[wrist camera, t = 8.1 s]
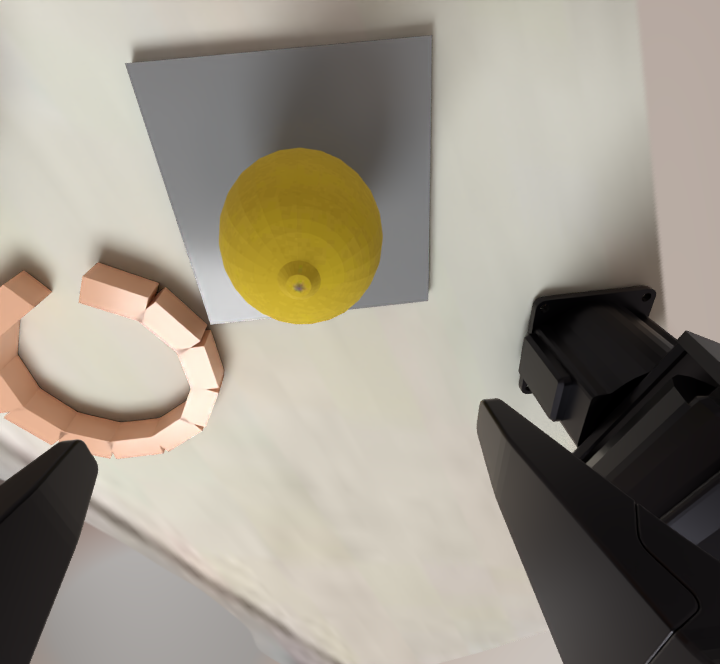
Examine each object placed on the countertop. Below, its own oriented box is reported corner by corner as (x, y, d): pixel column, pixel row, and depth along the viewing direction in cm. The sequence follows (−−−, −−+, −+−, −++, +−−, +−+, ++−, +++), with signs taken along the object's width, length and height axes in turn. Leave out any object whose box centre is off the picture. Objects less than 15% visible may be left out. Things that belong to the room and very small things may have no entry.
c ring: (185, 253, 19) (176, 266, 18) (242, 425, 25) (238, 444, 24) (-66, 279, 19) (-93, 294, 18) (54, 447, 25) (40, 467, 24)
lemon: (236, 251, 19) (191, 356, 12) (245, 117, 16) (192, 157, 9) (355, 271, 20) (373, 378, 13) (383, 149, 17) (426, 206, 10)
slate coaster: (428, 35, 16) (432, 35, 15) (425, 295, 22) (428, 300, 21) (131, 63, 15) (124, 63, 15) (213, 318, 21) (210, 324, 21)
